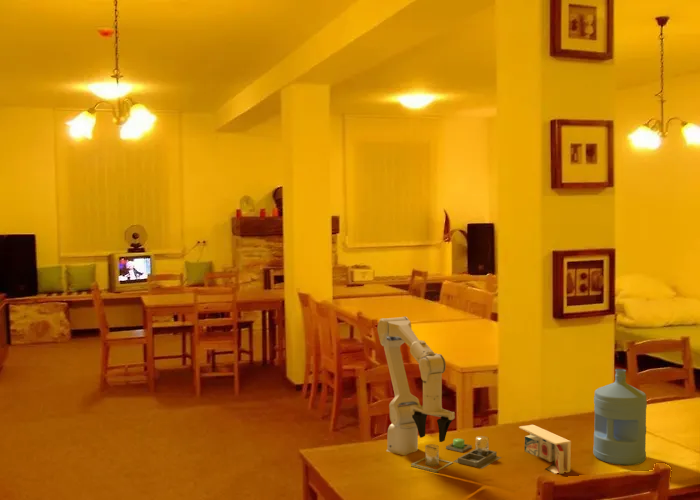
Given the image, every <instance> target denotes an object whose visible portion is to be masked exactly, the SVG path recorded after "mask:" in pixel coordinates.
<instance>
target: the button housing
mask: <svg viewBox="0 0 700 500" xmlns="http://www.w3.org/2000/svg"><path fill="white" fill-rule="evenodd" d="M472 447H473V446H472V444H468V443H464V447H463V448H462V449H461V448H456V447H453V442H452V443H450V444H448V445H446V446H445V449H446V450H450V451H453V452H454V451H455V452H458V453H464V452H466V451H468V450H470V449H472Z"/></svg>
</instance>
